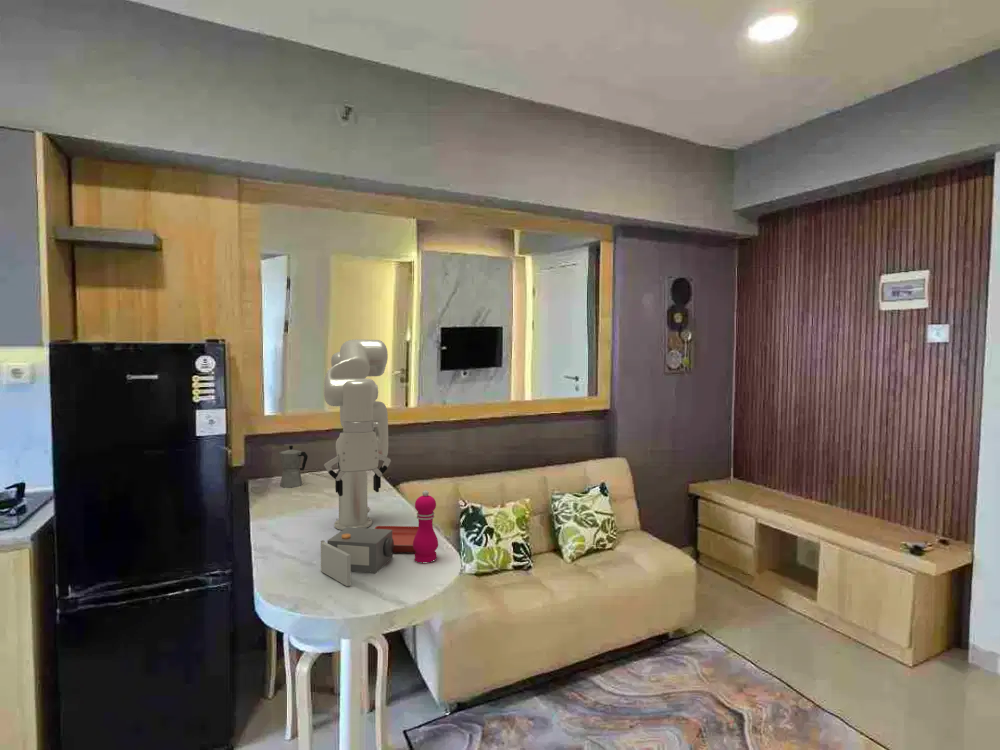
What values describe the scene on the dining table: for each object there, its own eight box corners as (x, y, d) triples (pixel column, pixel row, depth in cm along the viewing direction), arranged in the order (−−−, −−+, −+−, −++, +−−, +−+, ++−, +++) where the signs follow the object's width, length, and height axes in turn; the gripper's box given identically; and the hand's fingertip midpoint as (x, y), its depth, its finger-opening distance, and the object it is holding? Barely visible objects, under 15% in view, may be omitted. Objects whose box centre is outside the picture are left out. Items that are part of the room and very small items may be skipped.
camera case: (347, 553, 163) (346, 524, 162) (396, 557, 160) (396, 527, 160) (327, 569, 151) (327, 537, 150) (380, 573, 148) (380, 541, 148)
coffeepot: (271, 486, 245) (271, 446, 244) (286, 482, 254) (286, 443, 253) (300, 489, 240) (299, 448, 239) (314, 484, 249) (314, 445, 248)
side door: (323, 568, 151) (323, 540, 151) (352, 584, 140) (352, 554, 140) (318, 569, 150) (318, 541, 150) (347, 586, 139) (347, 555, 139)
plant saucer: (431, 535, 181) (431, 525, 180) (424, 555, 162) (424, 544, 162) (376, 535, 180) (376, 525, 180) (362, 555, 162) (362, 544, 162)
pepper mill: (414, 565, 154) (414, 494, 153) (411, 556, 161) (411, 488, 160) (440, 562, 156) (440, 492, 155) (435, 553, 163) (435, 486, 162)
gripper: (386, 424, 152) (387, 486, 152) (321, 427, 144) (321, 493, 144) (394, 427, 145) (394, 492, 146) (326, 431, 137) (326, 500, 138)
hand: (358, 492), depth 145 cm, fingers open, 9 cm apart
